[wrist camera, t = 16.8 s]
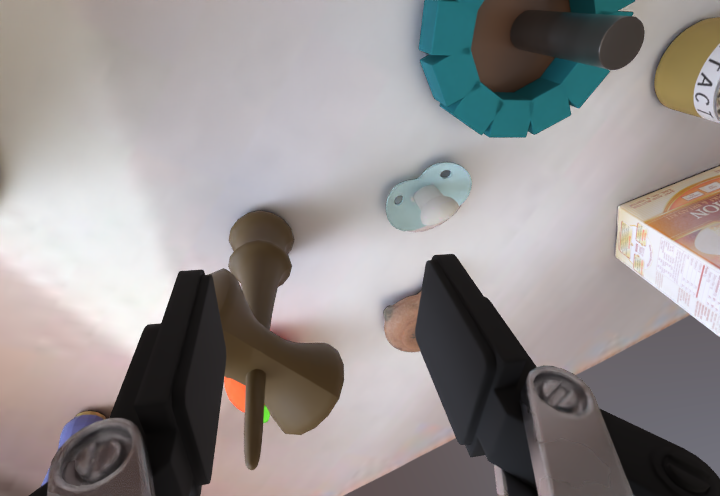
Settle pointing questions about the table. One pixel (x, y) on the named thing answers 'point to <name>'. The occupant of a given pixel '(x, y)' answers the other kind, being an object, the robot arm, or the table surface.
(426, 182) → the pacifier
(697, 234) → the coffeecake box
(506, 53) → the peg stand
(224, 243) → the table surface
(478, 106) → the ring
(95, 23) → the table surface
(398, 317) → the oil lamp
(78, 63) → the table surface
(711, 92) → the patterned cylinder
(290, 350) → the kendama
